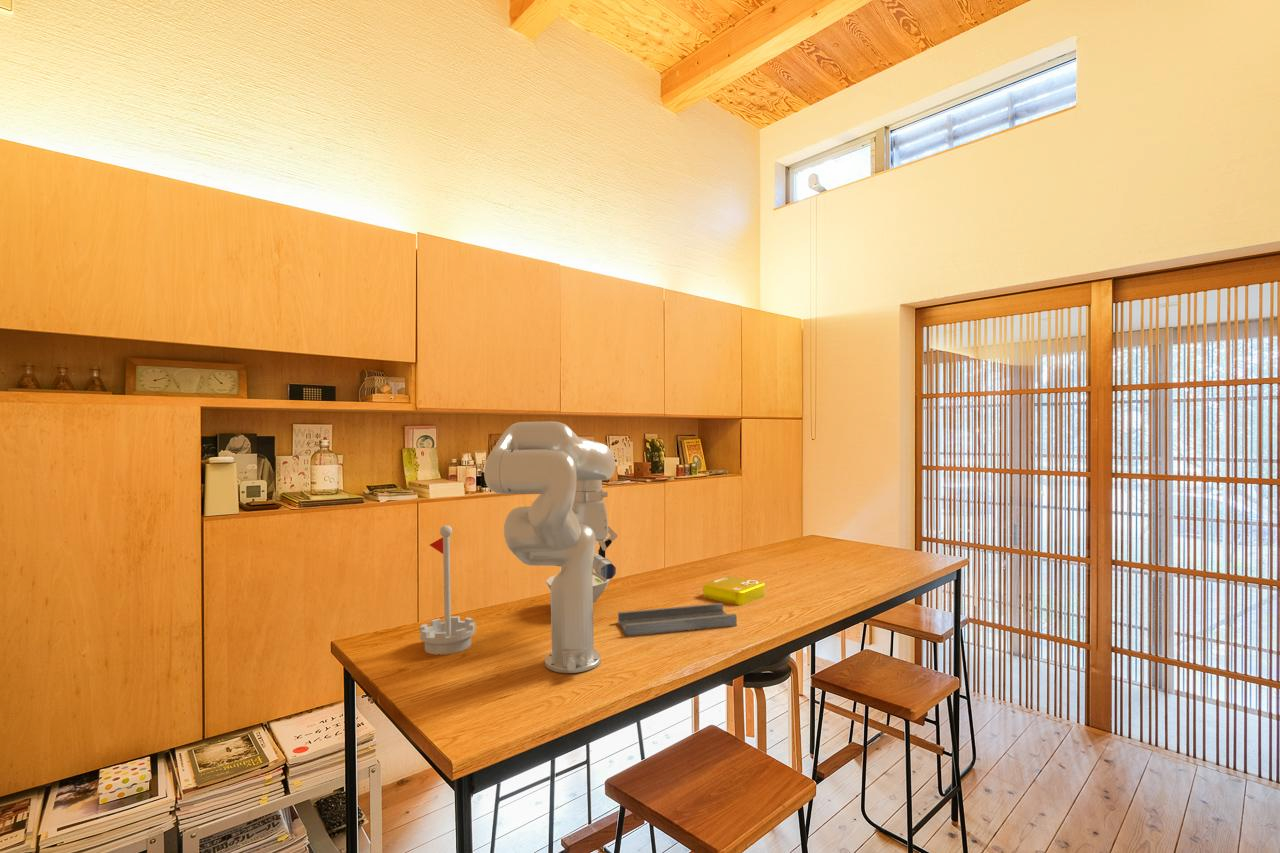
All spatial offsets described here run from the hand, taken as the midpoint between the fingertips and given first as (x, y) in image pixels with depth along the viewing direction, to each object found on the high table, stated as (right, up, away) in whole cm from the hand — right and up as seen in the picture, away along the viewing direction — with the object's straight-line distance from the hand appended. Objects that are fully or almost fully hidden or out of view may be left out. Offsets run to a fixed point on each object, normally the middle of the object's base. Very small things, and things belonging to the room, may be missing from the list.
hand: (589, 565), depth 153 cm
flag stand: (-34, -18, -8) cm, 40 cm away
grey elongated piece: (0, -1, 0) cm, 1 cm away
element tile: (+43, -18, +31) cm, 55 cm away
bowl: (-5, -18, +20) cm, 27 cm away
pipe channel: (+23, -17, +5) cm, 29 cm away
